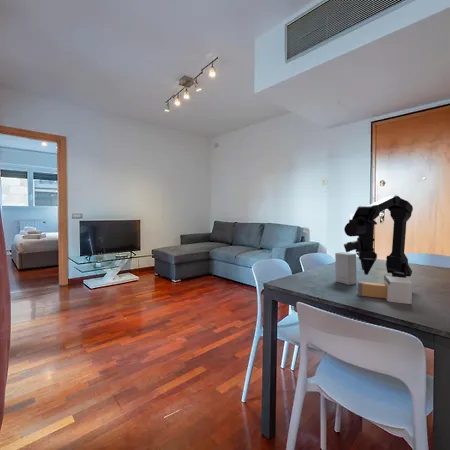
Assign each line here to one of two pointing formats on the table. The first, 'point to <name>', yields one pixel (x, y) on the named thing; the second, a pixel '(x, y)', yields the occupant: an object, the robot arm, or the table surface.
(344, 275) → the skincare box
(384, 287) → the plug
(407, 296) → the block
